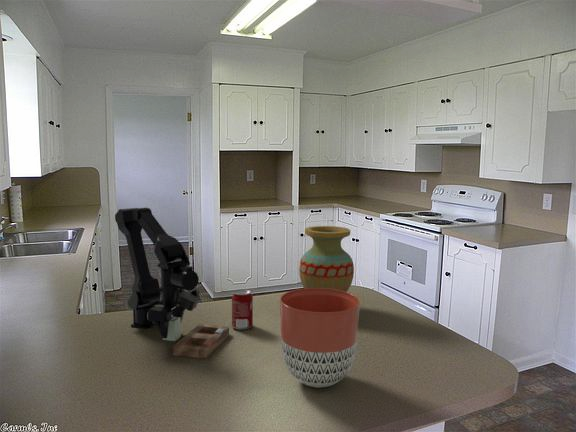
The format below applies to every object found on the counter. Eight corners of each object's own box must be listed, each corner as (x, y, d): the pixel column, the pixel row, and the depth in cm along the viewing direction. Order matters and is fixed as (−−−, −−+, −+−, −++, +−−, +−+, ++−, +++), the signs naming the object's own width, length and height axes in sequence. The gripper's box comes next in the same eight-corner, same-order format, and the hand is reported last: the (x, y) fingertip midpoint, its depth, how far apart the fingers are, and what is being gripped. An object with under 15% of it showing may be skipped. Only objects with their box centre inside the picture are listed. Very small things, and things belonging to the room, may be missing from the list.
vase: (364, 312, 167) (367, 231, 163) (320, 323, 155) (323, 236, 151) (329, 298, 183) (331, 223, 179) (287, 307, 172) (289, 227, 168)
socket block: (173, 354, 130) (173, 345, 129) (199, 331, 147) (199, 322, 147) (206, 358, 127) (206, 348, 127) (229, 334, 145) (229, 325, 144)
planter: (298, 409, 103) (300, 317, 100) (267, 371, 121) (268, 292, 118) (372, 392, 111) (375, 306, 108) (332, 359, 128) (334, 284, 125)
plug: (162, 339, 140) (162, 319, 139) (169, 334, 144) (168, 315, 143) (174, 341, 139) (174, 321, 138) (180, 336, 143) (180, 316, 142)
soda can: (249, 331, 147) (249, 295, 146) (229, 330, 149) (229, 294, 147) (254, 324, 154) (255, 289, 152) (235, 322, 155) (235, 288, 154)
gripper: (181, 294, 129) (182, 347, 131) (207, 277, 147) (208, 324, 149) (145, 291, 131) (146, 343, 133) (175, 275, 149) (176, 321, 151)
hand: (171, 332), depth 141 cm, fingers open, 8 cm apart
